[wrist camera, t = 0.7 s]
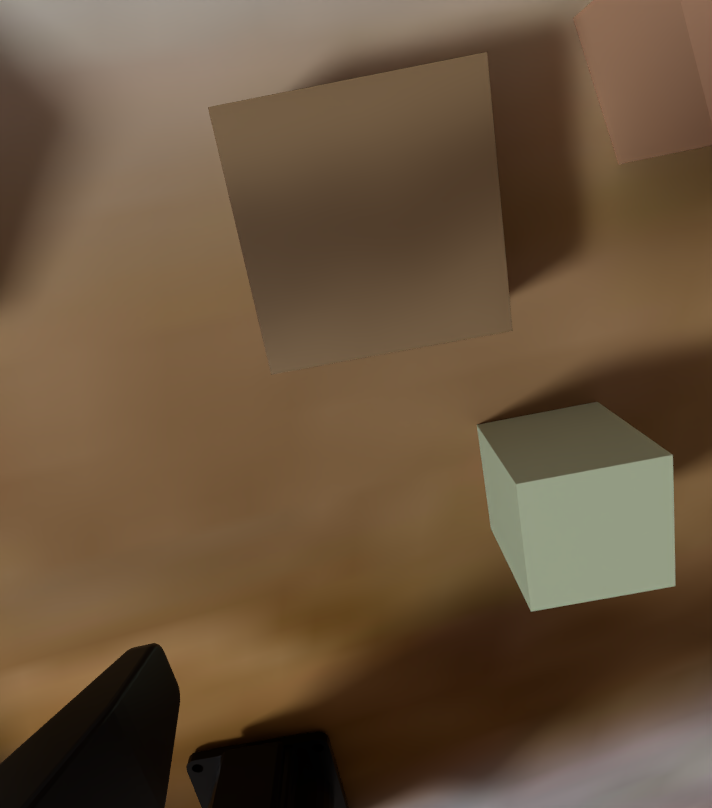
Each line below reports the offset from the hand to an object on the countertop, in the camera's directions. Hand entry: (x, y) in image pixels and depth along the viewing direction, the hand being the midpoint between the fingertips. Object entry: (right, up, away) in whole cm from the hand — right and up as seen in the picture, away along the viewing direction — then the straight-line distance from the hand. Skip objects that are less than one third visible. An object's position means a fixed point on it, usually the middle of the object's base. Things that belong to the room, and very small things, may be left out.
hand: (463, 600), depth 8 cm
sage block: (+6, 0, +13) cm, 14 cm away
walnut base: (-1, +9, +11) cm, 14 cm away
